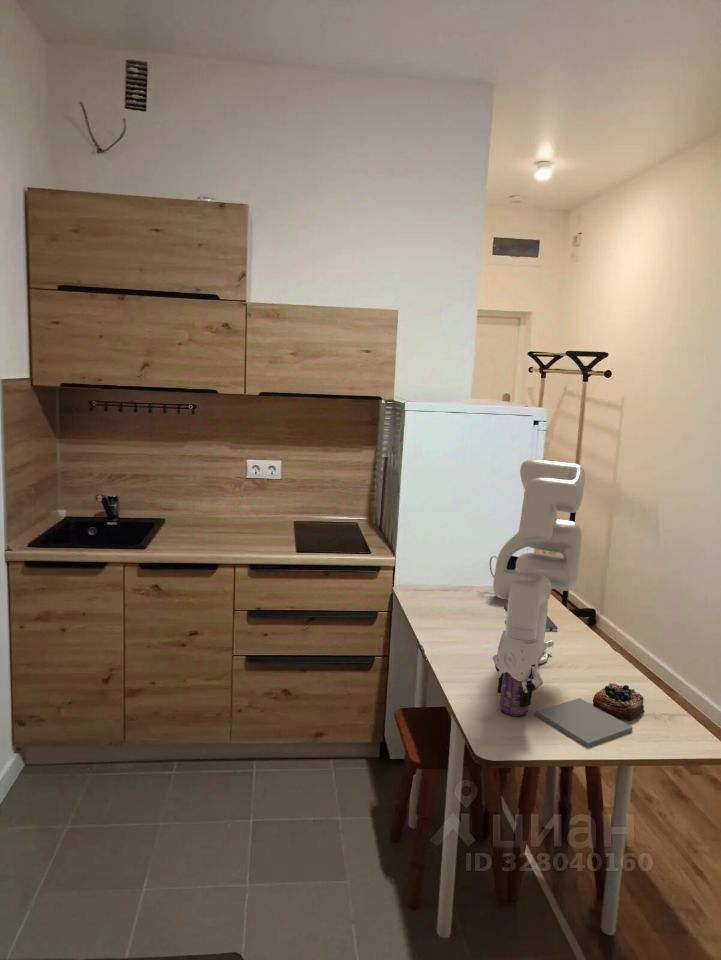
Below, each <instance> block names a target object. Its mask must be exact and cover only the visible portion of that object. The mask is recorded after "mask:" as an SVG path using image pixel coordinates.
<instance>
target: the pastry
mask: <svg viewBox="0 0 721 960" xmlns="http://www.w3.org/2000/svg"><path fill="white" fill-rule="evenodd" d="M592 705H594V706H595V707H597V708H599V709H601V710H603V711H604V712H606V713H608V714H610V715H612V716H613V717H615V718H617V719H619V718H620V719H619V720H623V719H624V720H623V721H627V722H631V721H633V720H635V719H636V718H637V717H638V716H639V715H641V714H642V713H643V712H645V705H644V696H643V695H642V694H641V693H640V692H637V691H636V689H634V688H630V686H629V685H628V684H624V685H619V684H617V683H613V682H610V683H608V685H605V686H604V687H603V688H601V690H599V691H597V692H596V693H595V694H594V696H593V699H592ZM642 711H643V712H642Z"/></svg>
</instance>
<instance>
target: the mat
mask: <svg viewBox="0 0 721 960" xmlns="http://www.w3.org/2000/svg"><path fill="white" fill-rule="evenodd" d="M535 716H537V717H539V718H540V719H542V720H543V721H545V722H546V723H548V724H550V725H551V726H553V727H555V728H556V729H558V730H559V731H561V732H563V733H564V734H566V735H567V736H569V737H571V738H572V739H574V740H576V742H579V743H580V744H582V745H583V746H585V747H587V748H589V747H591V746H594V745H595V746H596V745H597V744H600V743H603V742H605V741H608V740H611V739H613V738H617V737H620V736H622V735H625V734H628V733H630V732H633V729H634V727H633V726H631V725H630V724H627V723H626V722H624V721H623V720H622V719H619V718H616V717H613V716H612V715H610V714H608V713H606V712H604V711H603V710H601V709H599V708H597V707H595V706H594V705H593V703H592V704H591V702H588V701H586V700H585V699H582V698H581V697H578V698H575V699H571V700H568V701H566V702H562V703H559V704H555V705H551V706H548V707H545V708H541V709H538V710H536V711H535Z"/></svg>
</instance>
